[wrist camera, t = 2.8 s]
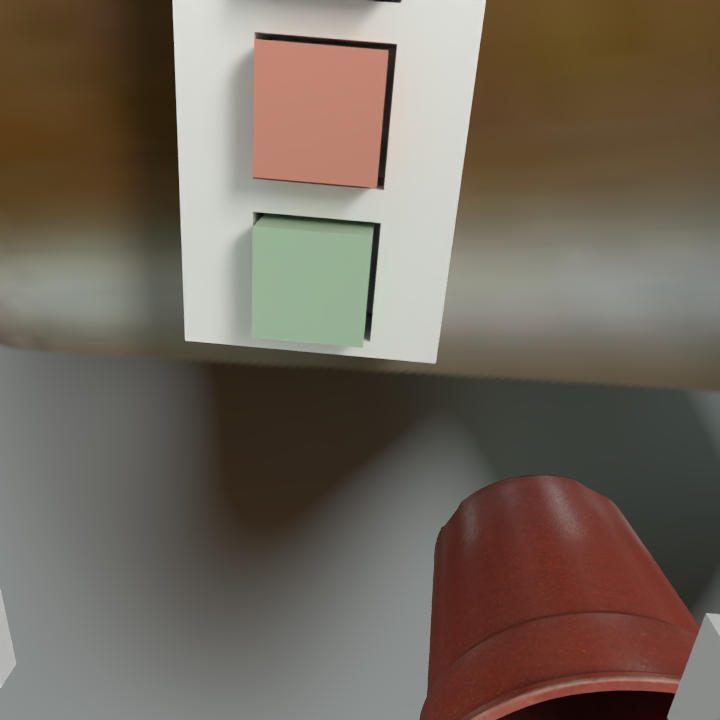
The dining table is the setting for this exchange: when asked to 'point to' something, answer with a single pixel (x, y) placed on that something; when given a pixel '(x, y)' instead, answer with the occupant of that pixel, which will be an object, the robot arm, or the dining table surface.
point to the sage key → (310, 279)
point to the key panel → (379, 205)
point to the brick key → (318, 112)
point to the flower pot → (551, 611)
